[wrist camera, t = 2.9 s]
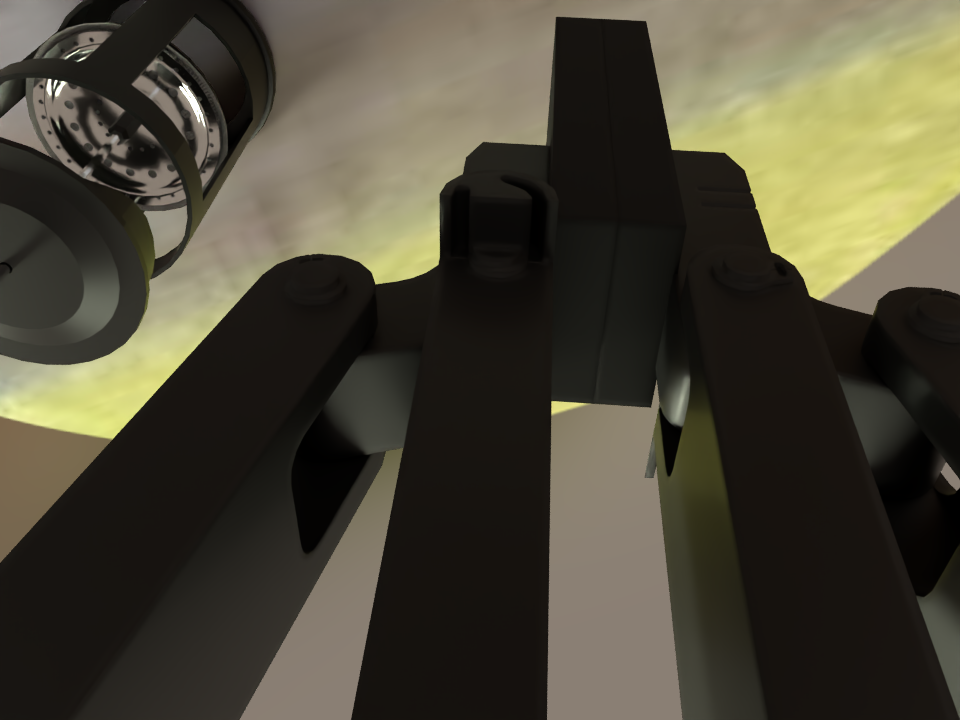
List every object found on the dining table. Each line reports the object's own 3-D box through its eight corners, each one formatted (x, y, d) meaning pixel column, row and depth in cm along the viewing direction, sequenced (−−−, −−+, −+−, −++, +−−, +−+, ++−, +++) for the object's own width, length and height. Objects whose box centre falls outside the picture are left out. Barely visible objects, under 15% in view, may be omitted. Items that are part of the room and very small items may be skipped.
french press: (98, -95, 38) (-299, 158, 21) (306, 6, 40) (108, 313, 23) (59, 133, 45) (-262, 465, 28) (237, 209, 47) (45, 562, 30)
